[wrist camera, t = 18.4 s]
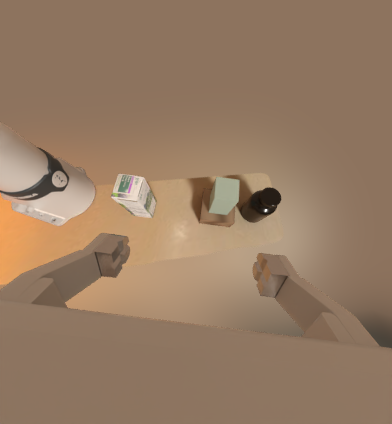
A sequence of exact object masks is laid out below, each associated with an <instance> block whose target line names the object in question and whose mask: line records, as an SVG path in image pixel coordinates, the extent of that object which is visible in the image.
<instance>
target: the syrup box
mask: <svg viewBox="0 0 392 424" xmlns="http://www.w3.org/2000/svg"><path fill="white" fill-rule="evenodd" d="M111 198H113V199H114V200H115V201H116V202H118V203H119V204H120V205H121V206H123V207H124V208H125V209H126V210H128V211H129V212H130V213H131V214H132V215H134V216H141V217H148V218H153V214H154V210H155V205H156V199H155V197H154V195H153V193H152V191H151V189H150V187H149V186H148V184H147V182H146V180H145V178H144V177H139V176H134V175H127V174H118V177H117V180H116V183H115V186H114V189H113V192H112V195H111Z"/></svg>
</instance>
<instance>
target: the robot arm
mask: <svg viewBox="0 0 392 424" xmlns="http://www.w3.org/2000/svg"><path fill="white" fill-rule="evenodd" d="M0 193H1V196H2V198H3V199H5V200H8V201H11V202H12V210H14V211H16V212H19V213H22V214H25V215H27V216H30V217H33V218H36V219H39V220H42V221H45V222H48V223H51V224H54V225H57V226H61V225H63V224H64V223H66V222H67V221H68V220H69V219H71V218H73V217H75V216H77V215H79V214H81V213H83V212H84V211H85V210H86V209H87V208H88V207H89V206H90V205H91V203H92V202H93V200H94V197H95V186H94V184H93V182H92V181H91V180H90V179H89V178H88V177H87V176H86V173H85V171H84V169H82V168H81V167H74V166H72V165H71V164H69V163H68V162H66V161H65V160H63V159H62V158H54V156H52V155H51V154H49V153H48V152H46V151H44V150H43V149H41V148H38V147H36V146H34V145H33V144H32V143H30V142H29V141H27V140H26V139H25V138H23V137H22V136H21V135H19V134H18V133H17V132H15V131H13V130H12V129H11V128H10V127H8V126H7V125H5V124H3V123H2V122H0ZM55 219H56V220H55ZM128 242H129V240H128V237H127V236H121V235H115V234H107V233H101V234H99V235H98V236H97V237H96V238H95V239H94V240H93V241H92V242H91V243H90V244H89V245H88V246H87V247H85V248H84V249H83V250H79V251H76V252H74V253H71V254H69V255H66V256H64V257H62V258H59V259H57V260H54V261H52V262H49V263H47V264H44V265H42V266H39V267H37V268H34V269H32V270H30V271H27V272H25V273H22V274H21V275H19V276H18V277H17V278H15V279H14V280H13V281H11V282H10V283H9V284H7V285H6V286H5V287H3V288H2V289H1V290H0V424H392V348H385V347H380V346H379V345H378V344H377V343H376V341H375V340H374V339H373V338H372V336H371V335H370V334H369V333H368V332H367V331H366V329H365V328H364V327H363V326H362V324H361V323H360V322H359V321H358V320H357V318H356V317H355V316H354V315H353V314H351V313H350V312H349V311H347V310H346V309H345V308H343V307H342V306H340V305H339V304H338V303H336V302H335V301H333V300H332V299H331V298H329V297H328V296H327V295H325V294H324V293H322V292H321V291H320V290H318V289H317V288H316V287H314V286H313V285H312V284H310V283H309V282H307V281H306V280H305V279H303V278H300V277H299V275H298V274H297V272H296V271H295V269H294V268H293V266H292V265H291V263H290V262H289V260H288V259H287V258H286V257H285V256H283V255H282V256H281V255H271V254H263V253H259V254H258V256H257V260H258V261H257V262H255V263H254V266H253V275H254V279H255V280H257V282H258V284H257V287H258V290H259V293H260V296H266V297H273V298H275V299H276V300H277V302H278V303H279V304H280V305H281V306H282V307H283V308H284V309H285V311H286V312H287V313H288V314H289V315H290V316H291V318H292V319H293V320H294V321H295V322H296V323H297V324H298V326H299V327H300V328H301V329H302V330H303V331H304V332H305V333H304V334H303V335H302V336H301V337H296V336H287V335H280V334H272V333H264V332H256V331H248V330H239V329H231V328H223V327H215V326H206V325H199V324H191V323H182V322H174V321H167V320H157V319H150V318H142V317H133V316H126V315H118V314H110V313H101V312H94V311H86V310H78V309H70V308H67V306H66V304H65V302H66V301H68V300H69V299H71V298H72V297H73V296H75V295H76V294H78V293H79V292H81V291H82V290H83V289H85V288H86V287H87V286H89V285H91V284H92V283H93V282H95V281H96V280H98V279H99V278H101V276H104V277H115V278H116V277H117V276H118V274H119V272H120V271H121V269H122V264H124V263H126V261H127V260H128V257H129V254H130V247H129V246H128V245H127V244H128Z"/></svg>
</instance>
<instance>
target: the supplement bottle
mask: <svg viewBox="0 0 392 424" xmlns="http://www.w3.org/2000/svg"><path fill="white" fill-rule="evenodd" d="M280 201H281V195H280V193H279V192H278V191H277V190H276V189H274V188H265V189H263V190H260V191H257V192H255V193H254V194H253V195H252V196H251V197H250V198H249V199H248V200H247V201H246V202H245V203H244V205H243V206H242V208H241V214H242V216H243V218H244V219H245V220H247V221H249V222H253V223H255V222H258V221H260V220H262V219H264V218H265V217H267V216H269V215H270V214H272V213H273V212H274V211H275V210H276V208H277V205H278V204H279V203H280Z"/></svg>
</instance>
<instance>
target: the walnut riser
mask: <svg viewBox="0 0 392 424" xmlns="http://www.w3.org/2000/svg"><path fill="white" fill-rule="evenodd" d="M211 192H212V189H206V188H204V191H203V196H202V205H201V213H200V222H199V223H202V224H210V225H218V226H226V227H230V226H231V225H233V224H234V218H235V206H234V207H233V209H232V210H231V211H230V212H229V213H228V214H227V215H223V214H215V213H209V202H210V195H211Z"/></svg>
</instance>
